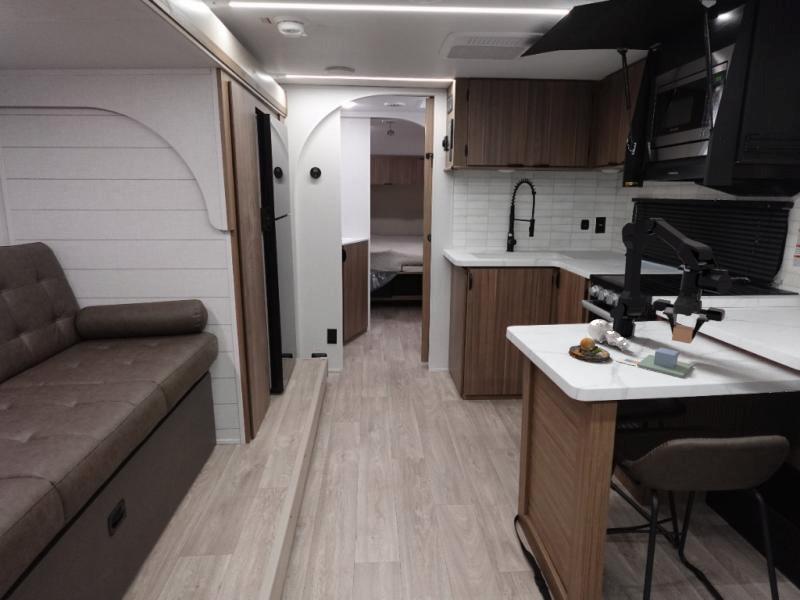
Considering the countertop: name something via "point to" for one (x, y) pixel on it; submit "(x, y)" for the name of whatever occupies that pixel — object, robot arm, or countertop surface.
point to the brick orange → (683, 333)
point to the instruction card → (629, 361)
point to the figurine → (606, 334)
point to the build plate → (678, 370)
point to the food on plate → (589, 351)
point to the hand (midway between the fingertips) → (683, 336)
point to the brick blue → (666, 357)
